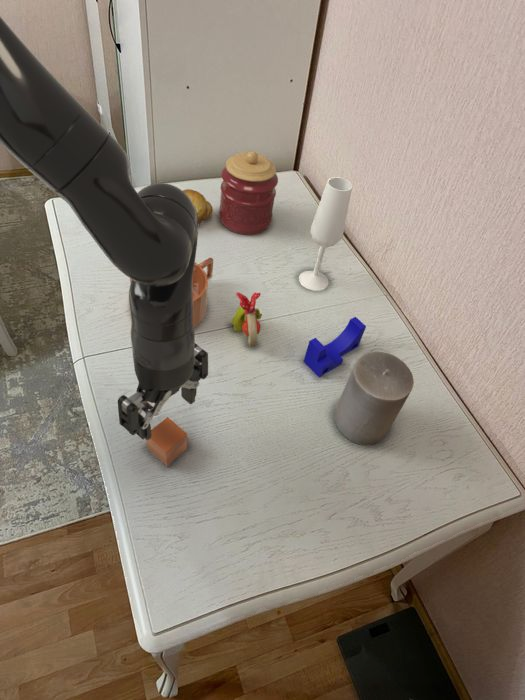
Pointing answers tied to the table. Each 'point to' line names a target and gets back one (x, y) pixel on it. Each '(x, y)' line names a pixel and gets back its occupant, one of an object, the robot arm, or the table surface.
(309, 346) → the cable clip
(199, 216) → the bread roll
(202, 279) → the measuring cup
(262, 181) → the kitchen canister
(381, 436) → the pillar candle
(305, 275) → the champagne flute
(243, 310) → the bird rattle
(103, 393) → the table surface
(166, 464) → the orange block
